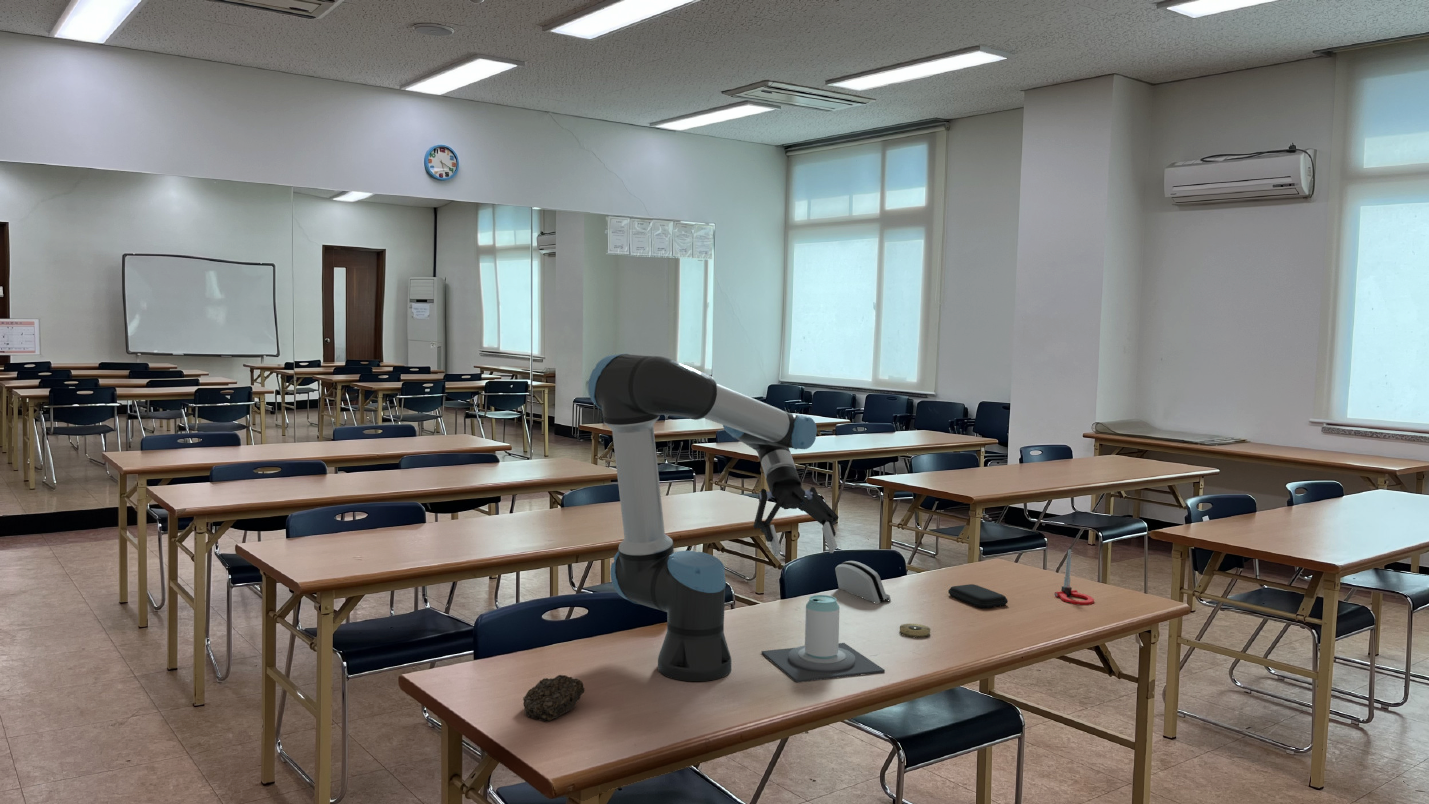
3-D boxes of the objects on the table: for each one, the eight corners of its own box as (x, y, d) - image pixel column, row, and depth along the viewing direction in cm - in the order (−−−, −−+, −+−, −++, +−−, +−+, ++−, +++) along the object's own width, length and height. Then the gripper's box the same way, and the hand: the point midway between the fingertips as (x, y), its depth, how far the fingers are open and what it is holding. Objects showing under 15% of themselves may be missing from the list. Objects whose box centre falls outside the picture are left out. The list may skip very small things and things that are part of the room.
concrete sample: (555, 693, 188) (555, 667, 188) (593, 707, 182) (593, 680, 181) (508, 711, 179) (508, 684, 179) (546, 726, 173) (546, 698, 172)
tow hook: (1100, 605, 259) (1076, 594, 267) (1104, 557, 257) (1080, 547, 266) (1074, 607, 256) (1051, 596, 264) (1078, 559, 254) (1054, 549, 263)
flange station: (796, 682, 196) (796, 673, 196) (761, 653, 213) (761, 645, 213) (884, 672, 203) (885, 663, 203) (844, 644, 220) (844, 636, 220)
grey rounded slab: (892, 601, 256) (883, 567, 253) (878, 609, 254) (869, 575, 251) (853, 585, 270) (844, 553, 268) (839, 593, 268) (830, 560, 266)
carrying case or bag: (1014, 607, 255) (976, 592, 268) (1014, 595, 254) (976, 581, 268) (981, 611, 250) (944, 596, 263) (982, 599, 250) (945, 585, 263)
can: (824, 662, 203) (825, 605, 202) (797, 653, 208) (799, 598, 207) (844, 654, 208) (846, 598, 207) (818, 646, 213) (820, 591, 212)
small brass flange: (909, 638, 225) (909, 633, 225) (893, 629, 232) (894, 624, 232) (936, 636, 228) (936, 630, 228) (919, 627, 234) (920, 621, 234)
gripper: (823, 481, 238) (850, 557, 226) (727, 485, 230) (748, 563, 217) (834, 463, 233) (862, 539, 220) (735, 465, 225) (758, 545, 212)
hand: (806, 551), depth 219 cm, fingers open, 13 cm apart
